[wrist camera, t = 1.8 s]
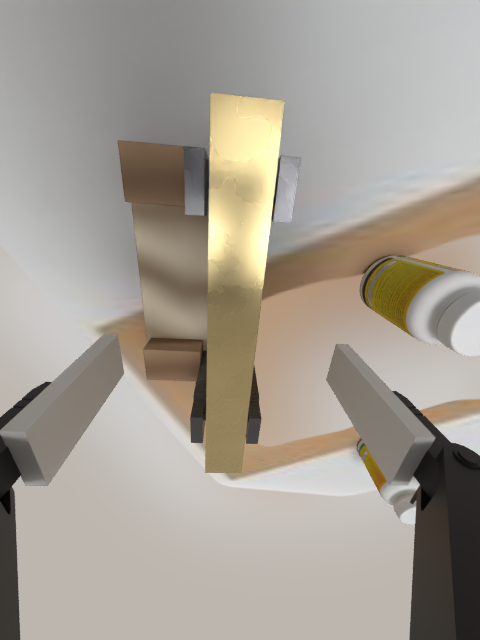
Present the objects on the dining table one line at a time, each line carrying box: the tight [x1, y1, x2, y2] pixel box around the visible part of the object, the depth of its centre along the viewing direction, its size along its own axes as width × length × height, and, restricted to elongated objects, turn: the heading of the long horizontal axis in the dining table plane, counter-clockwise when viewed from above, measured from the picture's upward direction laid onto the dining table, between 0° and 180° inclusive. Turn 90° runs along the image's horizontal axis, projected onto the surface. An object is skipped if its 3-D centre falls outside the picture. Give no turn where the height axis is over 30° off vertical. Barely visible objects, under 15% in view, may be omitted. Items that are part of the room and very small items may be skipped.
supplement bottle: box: [357, 440, 420, 524], centre depth 32 cm, size 5×5×10 cm
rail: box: [205, 93, 285, 473], centre depth 16 cm, size 24×3×4 cm, turn 176°
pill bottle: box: [360, 255, 480, 356], centre depth 20 cm, size 6×6×11 cm
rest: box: [118, 140, 210, 381], centre depth 23 cm, size 22×7×3 cm, turn 176°
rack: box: [184, 146, 301, 444], centre depth 20 cm, size 22×6×10 cm, turn 176°
